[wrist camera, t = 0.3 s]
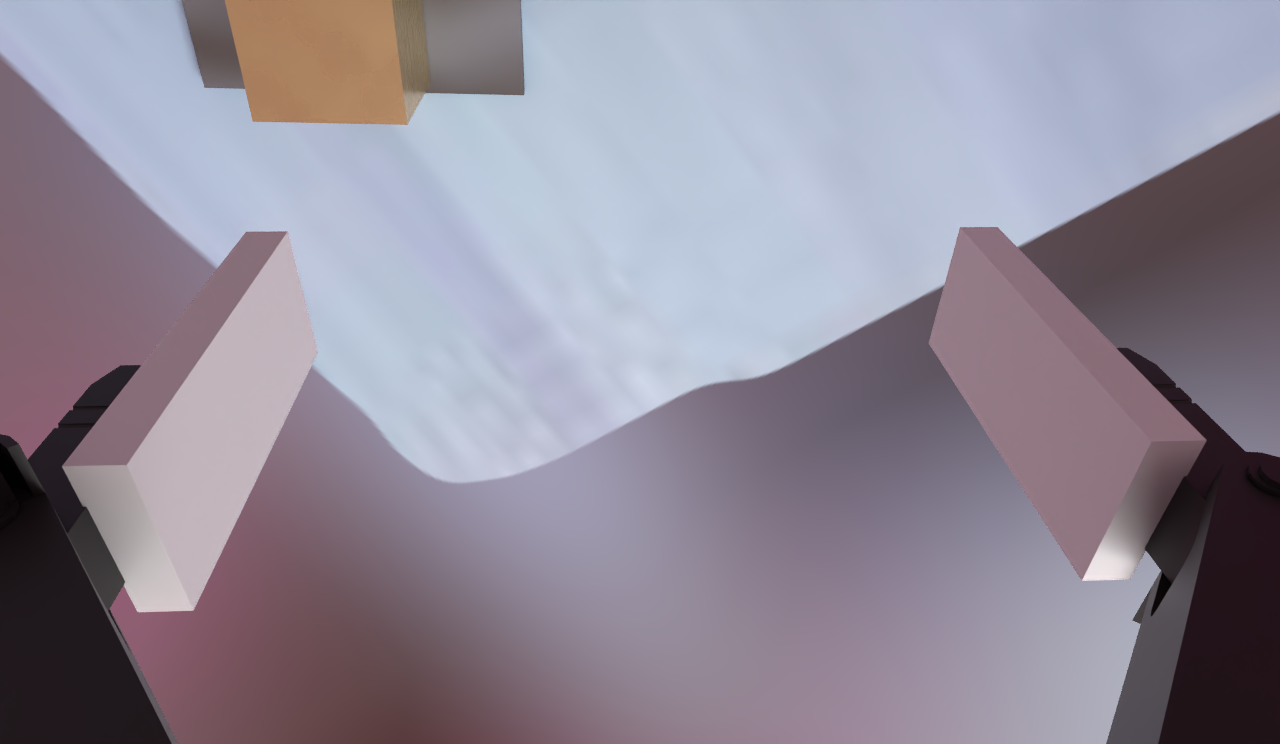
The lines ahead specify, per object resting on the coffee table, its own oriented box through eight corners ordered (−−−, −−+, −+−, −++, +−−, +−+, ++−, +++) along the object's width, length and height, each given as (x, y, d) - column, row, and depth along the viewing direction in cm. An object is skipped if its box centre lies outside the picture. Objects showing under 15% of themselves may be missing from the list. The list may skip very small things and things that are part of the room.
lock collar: (274, -38, 35) (221, -12, 30) (418, -33, 36) (390, -7, 31) (297, 79, 38) (252, 121, 33) (430, 82, 39) (407, 124, 33)
